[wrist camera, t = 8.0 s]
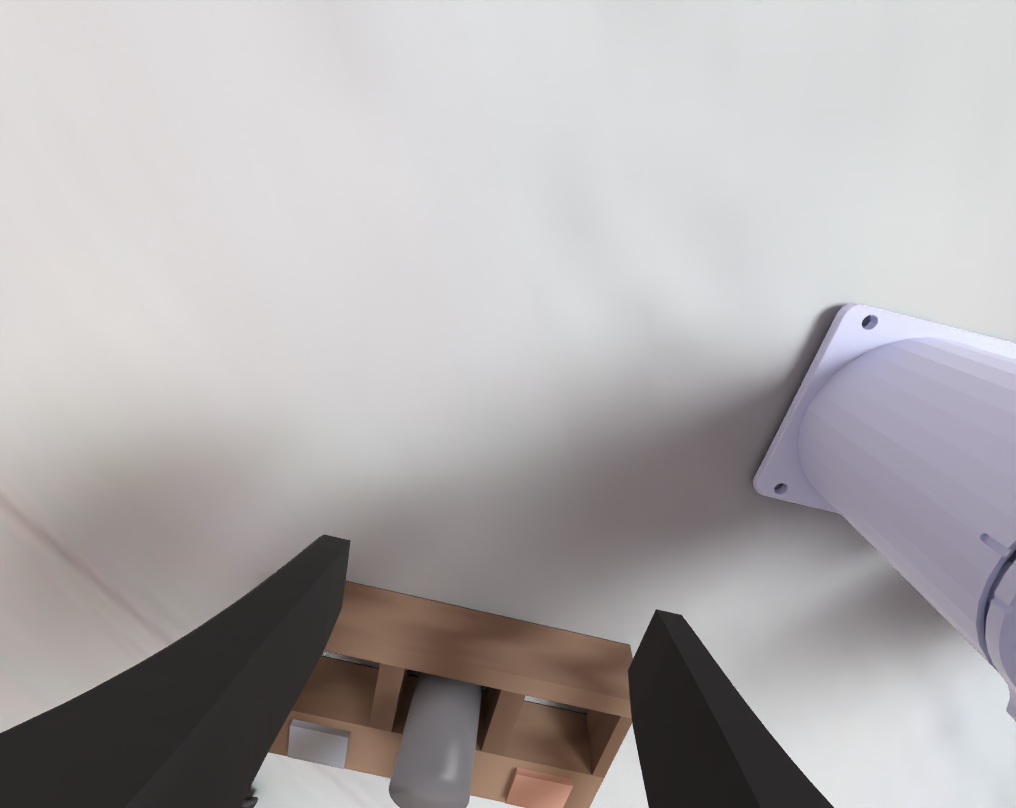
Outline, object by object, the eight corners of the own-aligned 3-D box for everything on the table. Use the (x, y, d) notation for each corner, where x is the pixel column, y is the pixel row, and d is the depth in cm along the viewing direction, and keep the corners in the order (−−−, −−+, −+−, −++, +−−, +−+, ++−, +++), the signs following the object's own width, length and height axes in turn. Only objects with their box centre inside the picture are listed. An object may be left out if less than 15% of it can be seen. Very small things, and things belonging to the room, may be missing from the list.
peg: (480, 629, 24) (461, 766, 18) (490, 674, 25) (475, 818, 19) (419, 632, 24) (380, 769, 18) (431, 677, 25) (399, 819, 19)
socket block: (629, 645, 24) (643, 709, 21) (578, 756, 27) (583, 826, 24) (301, 571, 23) (265, 625, 20) (291, 694, 27) (258, 757, 23)
